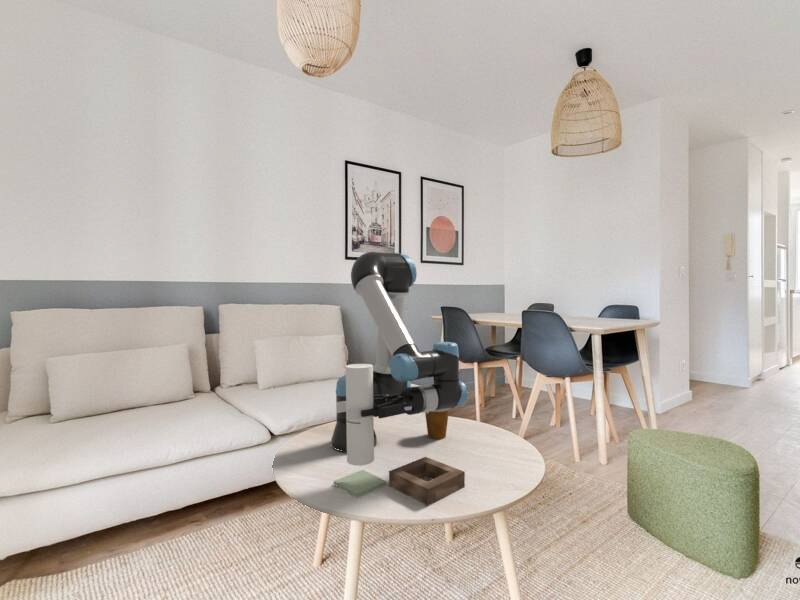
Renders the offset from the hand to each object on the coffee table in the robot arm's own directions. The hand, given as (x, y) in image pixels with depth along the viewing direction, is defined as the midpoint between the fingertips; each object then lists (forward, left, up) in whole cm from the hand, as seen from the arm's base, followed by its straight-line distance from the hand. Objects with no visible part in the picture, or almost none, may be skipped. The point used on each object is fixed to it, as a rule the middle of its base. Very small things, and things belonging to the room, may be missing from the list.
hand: (342, 410), depth 109 cm
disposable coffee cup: (-10, +48, -21) cm, 53 cm away
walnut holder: (+14, +17, -20) cm, 30 cm away
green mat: (+1, +5, -20) cm, 21 cm away
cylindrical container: (+1, +5, -14) cm, 15 cm away
